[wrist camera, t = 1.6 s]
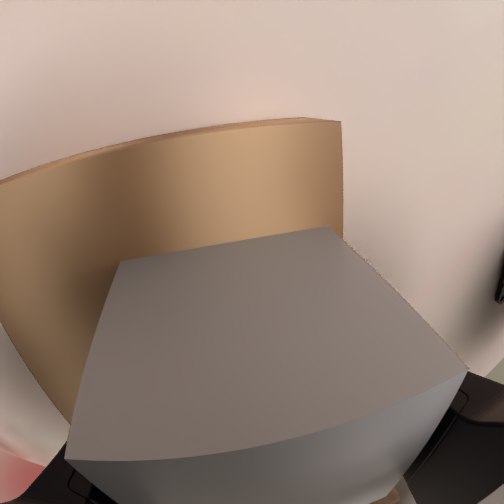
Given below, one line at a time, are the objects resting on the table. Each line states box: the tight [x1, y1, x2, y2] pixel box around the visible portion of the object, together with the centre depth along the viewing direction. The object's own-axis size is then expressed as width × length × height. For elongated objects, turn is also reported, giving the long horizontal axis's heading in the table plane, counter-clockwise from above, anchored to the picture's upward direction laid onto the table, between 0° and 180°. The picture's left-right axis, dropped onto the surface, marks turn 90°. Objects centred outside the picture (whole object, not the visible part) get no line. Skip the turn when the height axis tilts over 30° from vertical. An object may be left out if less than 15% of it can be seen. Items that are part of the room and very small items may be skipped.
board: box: [0, 117, 343, 425], centre depth 12 cm, size 12×26×8 cm, turn 6°
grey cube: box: [64, 226, 469, 504], centre depth 7 cm, size 6×6×6 cm
